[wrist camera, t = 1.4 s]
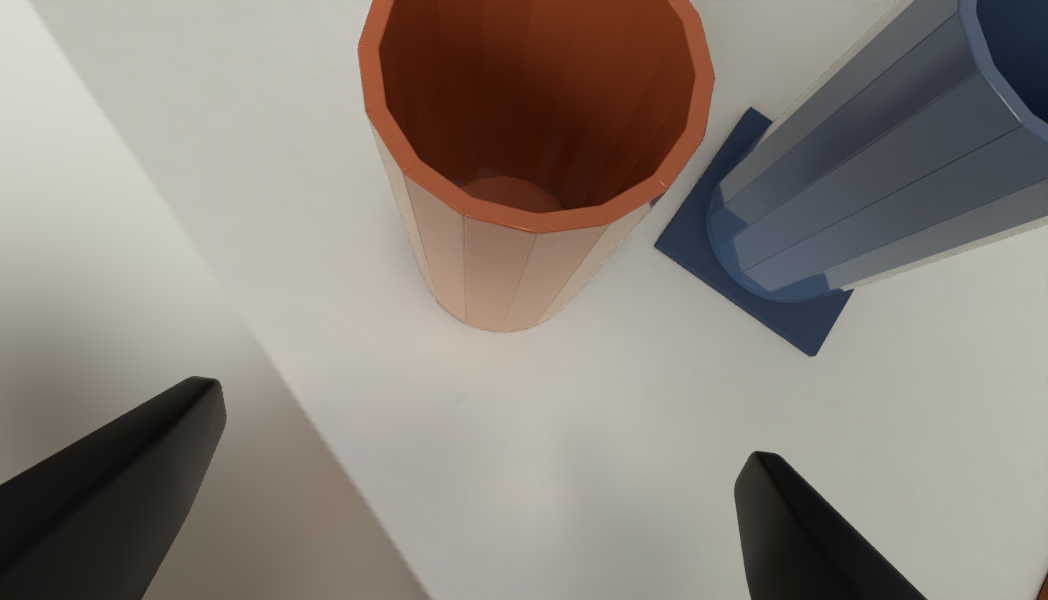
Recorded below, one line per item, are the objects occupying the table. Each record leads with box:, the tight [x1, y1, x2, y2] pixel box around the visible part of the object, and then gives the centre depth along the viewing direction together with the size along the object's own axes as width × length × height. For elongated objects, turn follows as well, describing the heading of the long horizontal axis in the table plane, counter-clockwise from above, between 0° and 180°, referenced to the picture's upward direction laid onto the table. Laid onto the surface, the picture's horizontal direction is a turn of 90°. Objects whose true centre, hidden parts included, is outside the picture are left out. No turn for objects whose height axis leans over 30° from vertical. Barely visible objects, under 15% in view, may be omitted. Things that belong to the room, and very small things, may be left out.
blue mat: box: [654, 107, 855, 357], centre depth 25 cm, size 8×8×1 cm
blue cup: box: [706, 0, 1048, 304], centre depth 18 cm, size 7×7×13 cm
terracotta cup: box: [357, 0, 715, 332], centre depth 17 cm, size 7×7×13 cm
